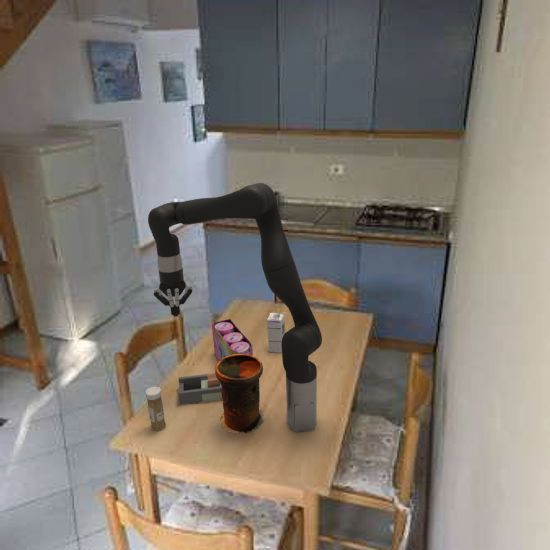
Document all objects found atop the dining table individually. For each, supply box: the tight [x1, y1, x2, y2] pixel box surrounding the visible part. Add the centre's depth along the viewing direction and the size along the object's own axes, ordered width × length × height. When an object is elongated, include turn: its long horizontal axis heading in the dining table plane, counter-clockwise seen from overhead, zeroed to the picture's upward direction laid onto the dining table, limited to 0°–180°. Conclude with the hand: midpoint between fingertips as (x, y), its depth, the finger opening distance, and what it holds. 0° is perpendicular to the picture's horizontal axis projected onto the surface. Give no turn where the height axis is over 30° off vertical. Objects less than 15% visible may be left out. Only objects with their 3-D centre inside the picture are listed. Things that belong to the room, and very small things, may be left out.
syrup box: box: [266, 312, 286, 354], centre depth 190 cm, size 6×6×14 cm
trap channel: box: [177, 372, 222, 406], centre depth 167 cm, size 9×22×4 cm, turn 100°
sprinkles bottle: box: [145, 386, 167, 432], centre depth 150 cm, size 5×5×14 cm
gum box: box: [211, 318, 254, 362], centre depth 180 cm, size 24×8×14 cm, turn 25°
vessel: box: [214, 354, 265, 434], centre depth 151 cm, size 14×14×20 cm
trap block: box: [206, 372, 220, 388], centre depth 167 cm, size 4×4×3 cm
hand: (176, 315), depth 163 cm, fingers closed
